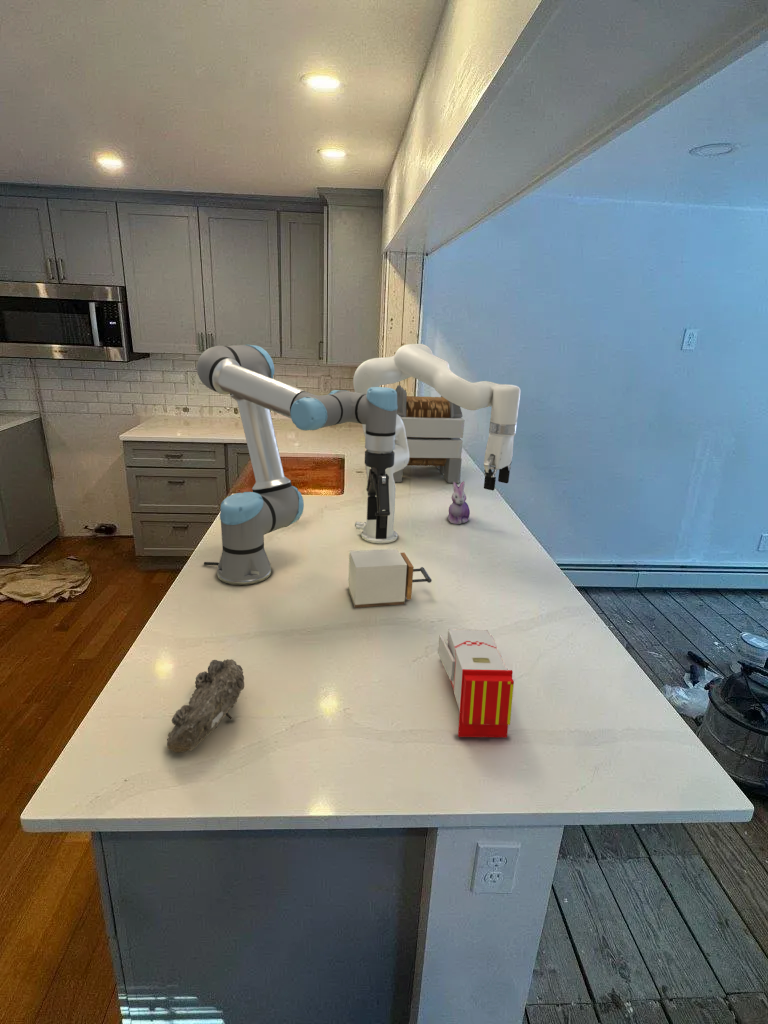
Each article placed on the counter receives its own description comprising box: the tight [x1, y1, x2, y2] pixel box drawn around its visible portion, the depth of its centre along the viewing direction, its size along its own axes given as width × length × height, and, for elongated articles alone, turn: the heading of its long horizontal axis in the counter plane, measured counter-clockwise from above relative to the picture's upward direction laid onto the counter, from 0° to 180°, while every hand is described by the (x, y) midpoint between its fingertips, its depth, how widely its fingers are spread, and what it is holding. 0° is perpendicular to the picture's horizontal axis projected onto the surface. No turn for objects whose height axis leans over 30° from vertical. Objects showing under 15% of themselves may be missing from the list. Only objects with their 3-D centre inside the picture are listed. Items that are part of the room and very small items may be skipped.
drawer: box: [400, 552, 433, 600], centre depth 155 cm, size 18×9×10 cm, turn 103°
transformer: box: [393, 384, 465, 484], centre depth 268 cm, size 34×33×41 cm
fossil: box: [166, 658, 245, 754], centre depth 106 cm, size 22×10×15 cm
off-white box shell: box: [347, 548, 407, 609], centre depth 154 cm, size 14×11×12 cm
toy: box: [437, 628, 515, 738], centre depth 117 cm, size 12×13×30 cm
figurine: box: [447, 481, 471, 525], centre depth 212 cm, size 9×10×15 cm
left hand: (376, 528), depth 150 cm, fingers open, 13 cm apart
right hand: (496, 485), depth 168 cm, fingers open, 9 cm apart
